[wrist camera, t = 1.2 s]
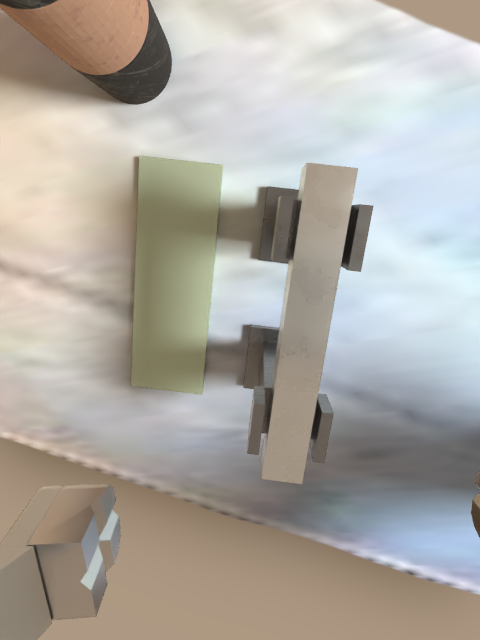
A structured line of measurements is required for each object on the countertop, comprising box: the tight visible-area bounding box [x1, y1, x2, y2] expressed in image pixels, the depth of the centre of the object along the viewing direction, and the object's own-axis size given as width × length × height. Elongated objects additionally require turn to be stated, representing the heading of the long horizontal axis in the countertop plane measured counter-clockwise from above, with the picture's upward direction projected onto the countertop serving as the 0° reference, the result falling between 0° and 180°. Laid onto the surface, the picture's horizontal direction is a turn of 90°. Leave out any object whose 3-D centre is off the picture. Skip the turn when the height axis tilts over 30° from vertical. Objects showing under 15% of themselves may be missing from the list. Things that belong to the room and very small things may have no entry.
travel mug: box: [0, 0, 172, 104], centre depth 26 cm, size 8×8×20 cm
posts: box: [243, 187, 373, 463], centre depth 33 cm, size 7×21×15 cm, turn 174°
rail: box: [262, 163, 358, 484], centre depth 27 cm, size 3×22×3 cm, turn 173°
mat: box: [131, 156, 223, 394], centre depth 40 cm, size 8×24×1 cm, turn 174°
